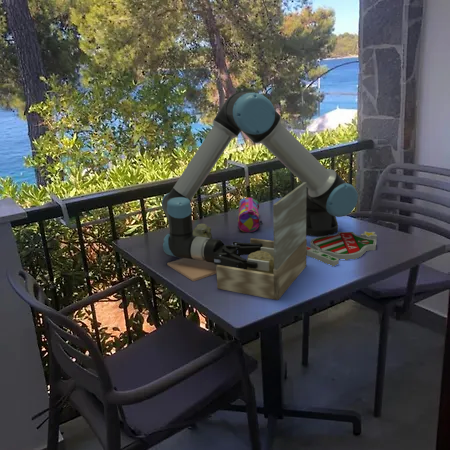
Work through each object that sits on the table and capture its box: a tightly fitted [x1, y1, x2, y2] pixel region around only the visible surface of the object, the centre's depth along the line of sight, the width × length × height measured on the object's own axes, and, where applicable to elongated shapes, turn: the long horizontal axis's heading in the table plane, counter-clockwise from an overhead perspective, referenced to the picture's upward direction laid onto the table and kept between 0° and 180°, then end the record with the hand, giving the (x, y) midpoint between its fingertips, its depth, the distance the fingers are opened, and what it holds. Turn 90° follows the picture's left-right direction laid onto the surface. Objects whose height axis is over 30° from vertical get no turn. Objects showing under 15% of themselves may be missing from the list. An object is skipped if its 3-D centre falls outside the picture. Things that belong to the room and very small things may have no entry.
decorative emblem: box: [307, 230, 378, 267], centre depth 162 cm, size 19×2×30 cm
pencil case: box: [237, 196, 264, 233], centre depth 188 cm, size 22×9×9 cm, turn 0°
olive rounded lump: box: [246, 251, 274, 274], centre depth 142 cm, size 9×10×10 cm
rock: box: [193, 223, 213, 239], centre depth 173 cm, size 11×6×10 cm
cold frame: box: [216, 182, 308, 301], centre depth 138 cm, size 19×24×27 cm
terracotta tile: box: [166, 258, 217, 282], centre depth 152 cm, size 16×16×1 cm
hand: (275, 260), depth 139 cm, fingers closed on olive rounded lump, 9 cm apart
